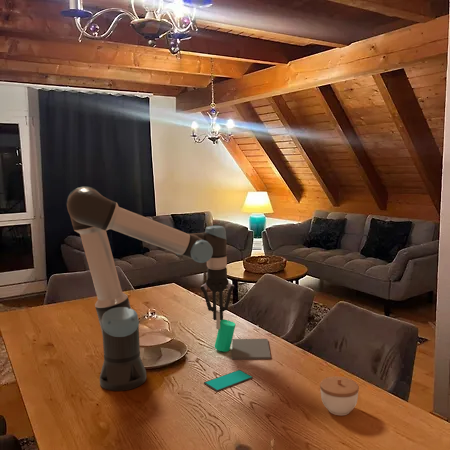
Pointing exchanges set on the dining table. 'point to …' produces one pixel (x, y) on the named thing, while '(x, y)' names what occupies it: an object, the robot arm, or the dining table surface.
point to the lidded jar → (339, 394)
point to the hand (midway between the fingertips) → (218, 327)
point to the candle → (225, 335)
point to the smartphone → (228, 380)
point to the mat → (250, 349)
